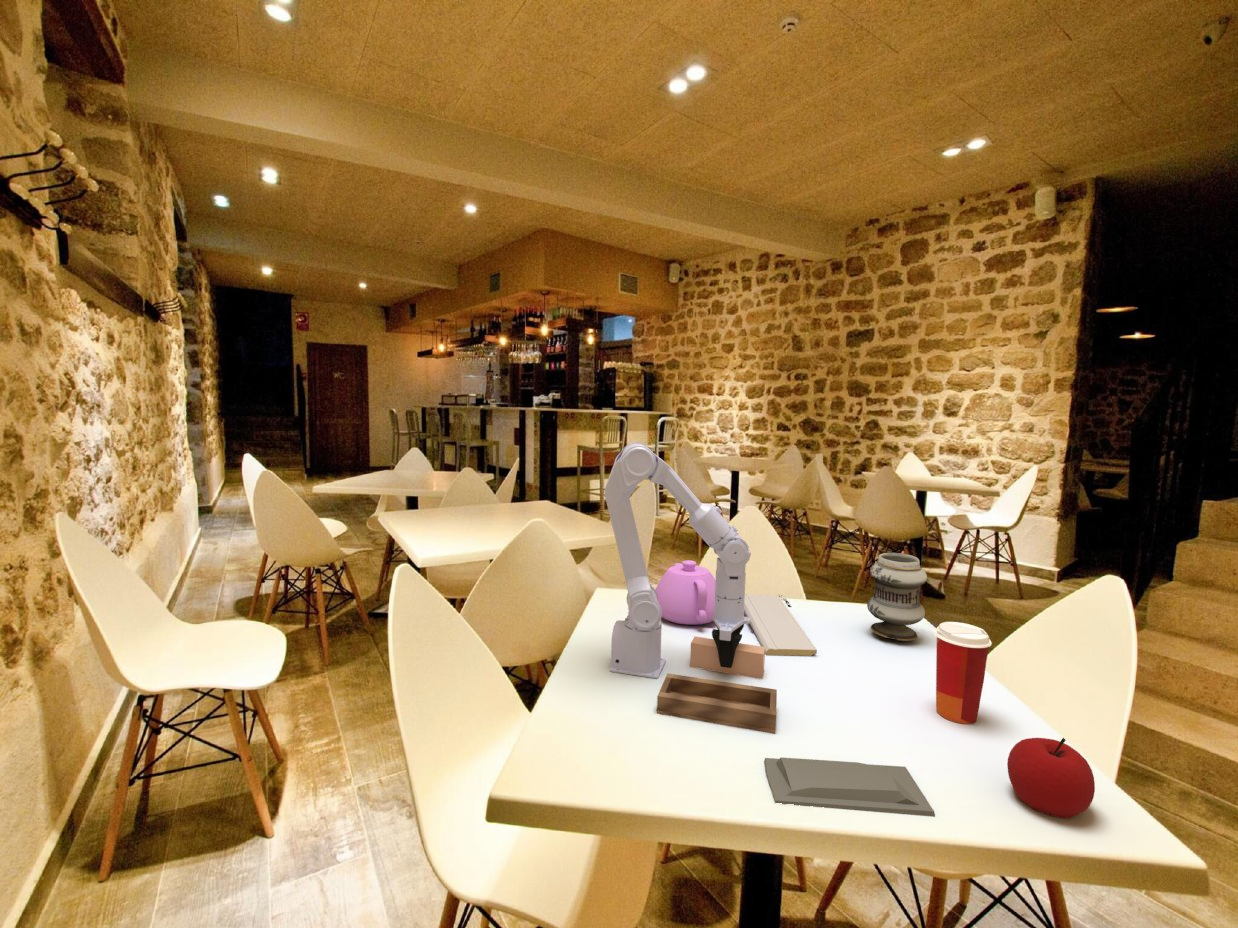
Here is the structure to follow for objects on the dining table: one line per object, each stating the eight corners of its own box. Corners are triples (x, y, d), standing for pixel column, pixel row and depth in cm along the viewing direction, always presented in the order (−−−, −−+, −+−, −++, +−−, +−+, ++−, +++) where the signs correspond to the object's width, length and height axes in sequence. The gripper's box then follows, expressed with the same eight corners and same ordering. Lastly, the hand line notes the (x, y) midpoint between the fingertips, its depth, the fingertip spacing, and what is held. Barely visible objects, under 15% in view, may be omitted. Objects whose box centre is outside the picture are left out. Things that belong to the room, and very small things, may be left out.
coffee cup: (977, 707, 100) (984, 624, 98) (990, 732, 92) (999, 642, 90) (923, 698, 102) (930, 617, 101) (932, 721, 95) (939, 634, 93)
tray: (656, 716, 95) (657, 696, 94) (667, 691, 103) (667, 672, 103) (775, 736, 89) (776, 715, 89) (775, 708, 98) (776, 688, 98)
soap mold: (938, 830, 71) (940, 804, 71) (774, 818, 72) (775, 792, 72) (903, 777, 81) (905, 754, 81) (761, 768, 83) (762, 745, 82)
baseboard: (824, 649, 119) (766, 648, 119) (823, 662, 119) (765, 661, 119) (783, 594, 149) (737, 593, 150) (782, 605, 150) (737, 603, 150)
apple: (1046, 781, 80) (1053, 713, 79) (1111, 828, 71) (1120, 752, 70) (988, 787, 78) (994, 718, 77) (1047, 835, 70) (1055, 758, 69)
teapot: (757, 629, 133) (759, 571, 132) (668, 636, 128) (670, 576, 127) (719, 598, 154) (721, 548, 153) (642, 603, 149) (643, 551, 148)
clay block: (690, 666, 113) (690, 642, 113) (693, 659, 117) (694, 636, 116) (762, 679, 109) (763, 654, 108) (764, 671, 112) (765, 647, 111)
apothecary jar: (866, 637, 130) (871, 559, 128) (865, 619, 141) (870, 548, 139) (925, 646, 125) (932, 566, 123) (920, 627, 136) (925, 553, 134)
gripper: (748, 609, 103) (745, 681, 104) (752, 585, 117) (749, 649, 118) (709, 605, 105) (706, 675, 106) (718, 582, 119) (715, 645, 120)
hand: (727, 661), depth 112 cm, fingers closed on clay block, 4 cm apart
